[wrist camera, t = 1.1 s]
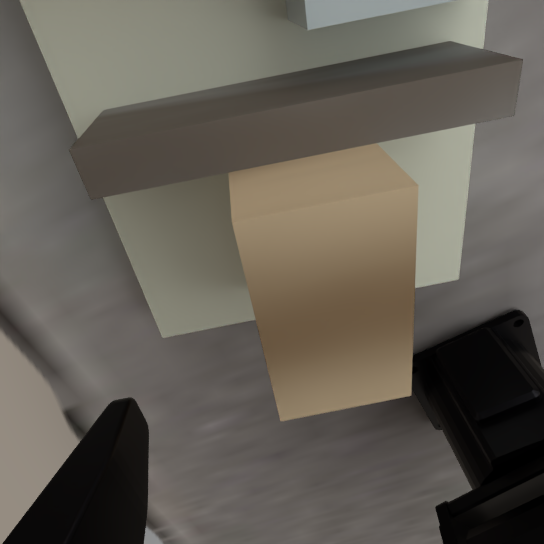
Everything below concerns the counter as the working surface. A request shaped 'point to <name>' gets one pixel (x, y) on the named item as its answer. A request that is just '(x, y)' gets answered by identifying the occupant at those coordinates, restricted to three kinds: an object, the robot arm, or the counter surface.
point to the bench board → (225, 71)
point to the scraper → (313, 200)
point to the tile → (346, 10)
